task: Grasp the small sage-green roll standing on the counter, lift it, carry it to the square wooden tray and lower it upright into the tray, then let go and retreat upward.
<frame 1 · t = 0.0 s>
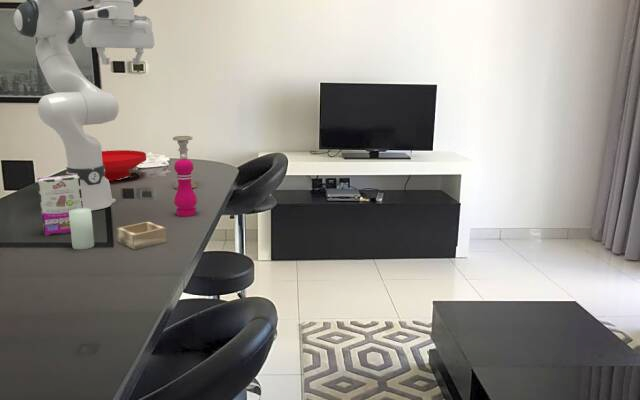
hand: (121, 64, 159), 48 cm above the breakfast bar, fingers open, 8 cm apart
pepper mill: (186, 214, 182), on the breakfast bar
candy bar box: (64, 232, 163), on the breakfast bar
square wooden tray: (142, 241, 154), on the breakfast bar
bowl: (110, 178, 237), on the breakfast bar
candle holder: (185, 188, 220), on the breakfast bar
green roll: (83, 246, 150), on the breakfast bar
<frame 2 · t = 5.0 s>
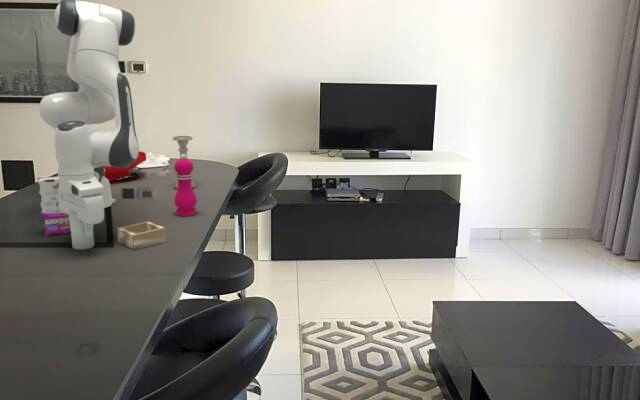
hand: (82, 233, 149), 4 cm above the breakfast bar, fingers closed on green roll, 5 cm apart
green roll: (83, 246, 150), on the breakfast bar, touching gripper
everything else where it was.
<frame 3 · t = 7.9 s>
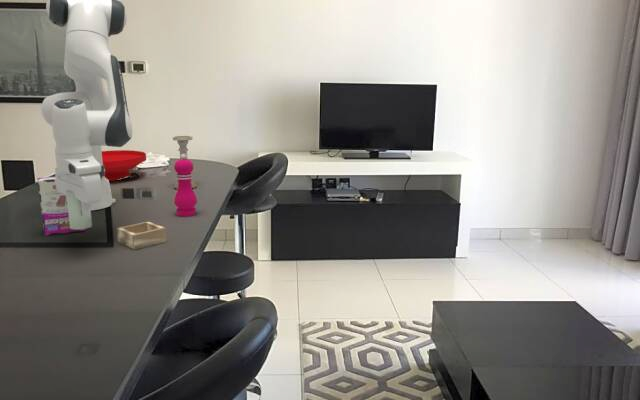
hand: (79, 213, 148), 9 cm above the breakfast bar, fingers closed on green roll, 5 cm apart
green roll: (81, 226, 149), point 6 cm above the breakfast bar, touching gripper
everything else where it was.
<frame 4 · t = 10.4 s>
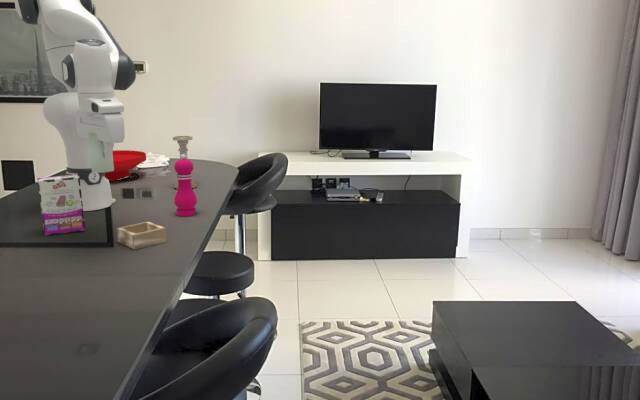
hand: (101, 157, 146), 24 cm above the breakfast bar, fingers closed on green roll, 5 cm apart
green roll: (103, 170, 146), point 21 cm above the breakfast bar, touching gripper
everything else where it was.
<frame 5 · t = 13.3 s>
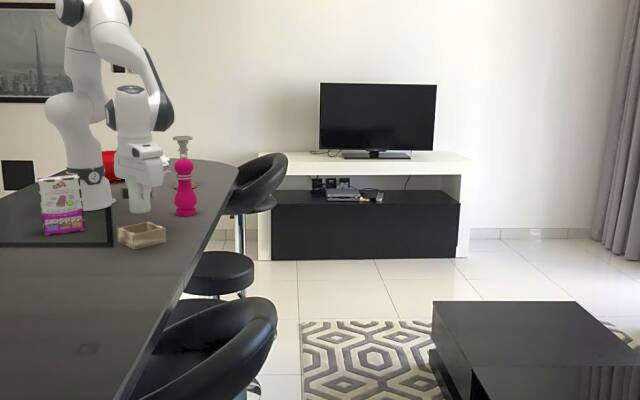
hand: (139, 197, 151), 13 cm above the breakfast bar, fingers closed on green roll, 5 cm apart
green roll: (140, 210, 152), point 9 cm above the breakfast bar, touching gripper
everything else where it was.
when the fingers open (6 cm above the breakfast bar, at t = 15.9 s): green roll drops 1 cm, resting on square wooden tray.
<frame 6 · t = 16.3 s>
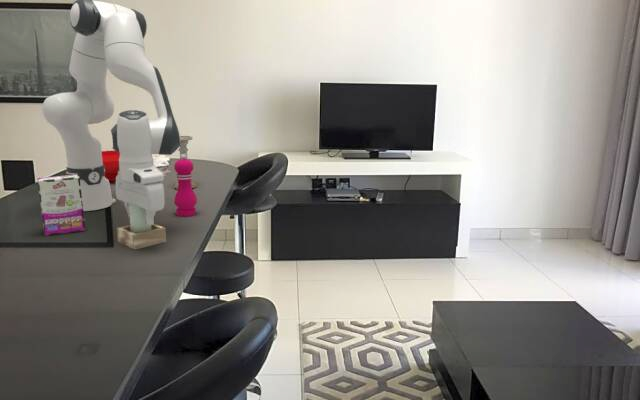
hand: (140, 220, 152), 6 cm above the breakfast bar, fingers open, 8 cm apart
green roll: (141, 238, 154), point 1 cm above the breakfast bar, touching square wooden tray
everything else where it was.
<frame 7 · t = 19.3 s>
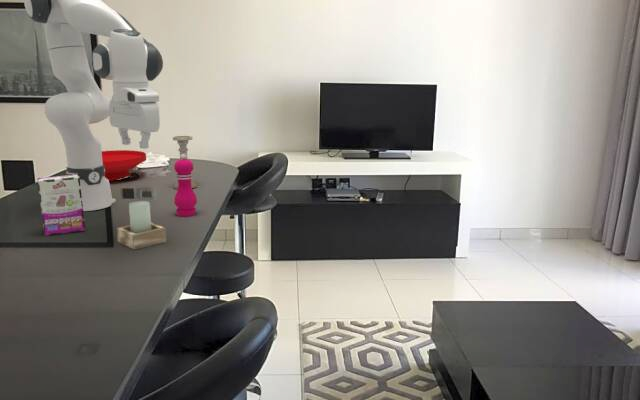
hand: (135, 146, 147), 27 cm above the breakfast bar, fingers open, 8 cm apart
nothing on the breakfast bar moved.
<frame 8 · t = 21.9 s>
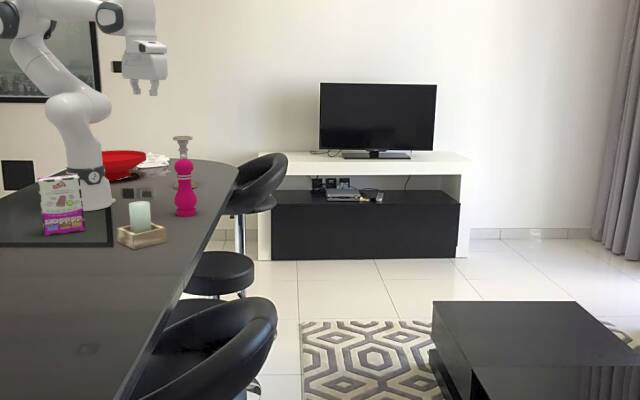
hand: (145, 95, 164), 39 cm above the breakfast bar, fingers open, 8 cm apart
nothing on the breakfast bar moved.
at the end: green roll 0.1 cm off-centre on the square wooden tray, point 1.0 cm above the square wooden tray's base; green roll tilted 0°; the gripper is holding nothing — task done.
